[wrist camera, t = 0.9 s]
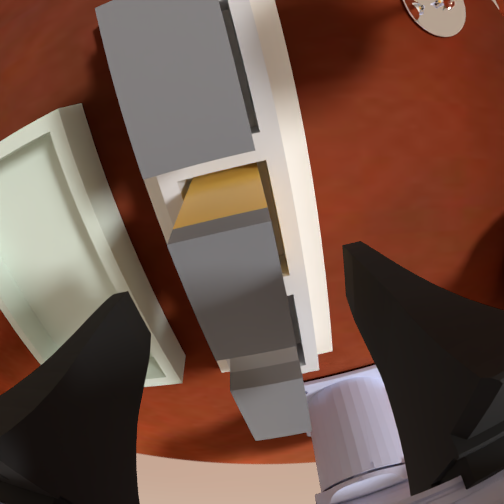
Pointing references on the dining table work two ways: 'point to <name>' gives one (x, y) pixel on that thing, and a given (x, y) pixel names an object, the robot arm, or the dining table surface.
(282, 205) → the fuse holder
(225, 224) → the block
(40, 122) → the tray
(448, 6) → the wineglass
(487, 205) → the dining table surface
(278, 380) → the block
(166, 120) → the block
